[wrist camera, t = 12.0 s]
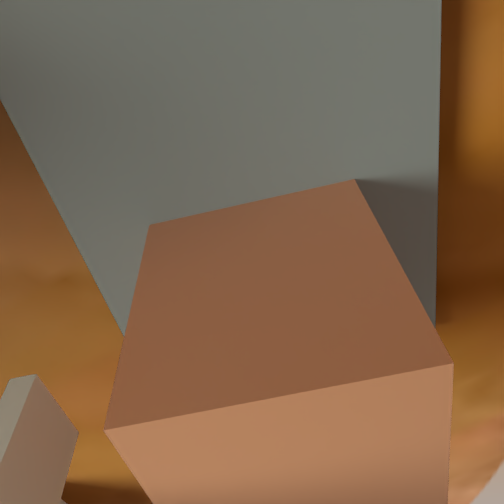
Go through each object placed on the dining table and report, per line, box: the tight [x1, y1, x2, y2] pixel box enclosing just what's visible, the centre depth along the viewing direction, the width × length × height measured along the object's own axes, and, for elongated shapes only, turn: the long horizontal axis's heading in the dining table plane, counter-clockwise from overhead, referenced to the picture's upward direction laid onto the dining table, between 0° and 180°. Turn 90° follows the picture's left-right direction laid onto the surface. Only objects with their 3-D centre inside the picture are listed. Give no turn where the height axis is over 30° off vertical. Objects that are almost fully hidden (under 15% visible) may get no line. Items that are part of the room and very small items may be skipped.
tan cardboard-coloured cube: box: [103, 179, 454, 504], centre depth 13 cm, size 6×6×7 cm
